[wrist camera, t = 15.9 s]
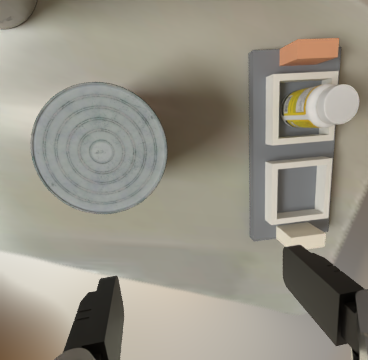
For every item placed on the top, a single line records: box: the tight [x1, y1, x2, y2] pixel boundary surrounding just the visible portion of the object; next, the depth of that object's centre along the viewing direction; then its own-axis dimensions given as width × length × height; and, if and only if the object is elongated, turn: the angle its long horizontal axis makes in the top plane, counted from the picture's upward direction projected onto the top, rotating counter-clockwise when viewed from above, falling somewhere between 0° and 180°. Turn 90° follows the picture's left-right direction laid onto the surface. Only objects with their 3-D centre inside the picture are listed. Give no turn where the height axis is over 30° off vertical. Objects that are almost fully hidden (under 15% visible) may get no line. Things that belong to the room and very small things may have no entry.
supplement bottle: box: [280, 84, 359, 128], centre depth 30 cm, size 5×5×8 cm
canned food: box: [31, 82, 167, 214], centre depth 28 cm, size 11×11×12 cm
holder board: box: [249, 38, 341, 249], centre depth 34 cm, size 26×12×6 cm, turn 3°
